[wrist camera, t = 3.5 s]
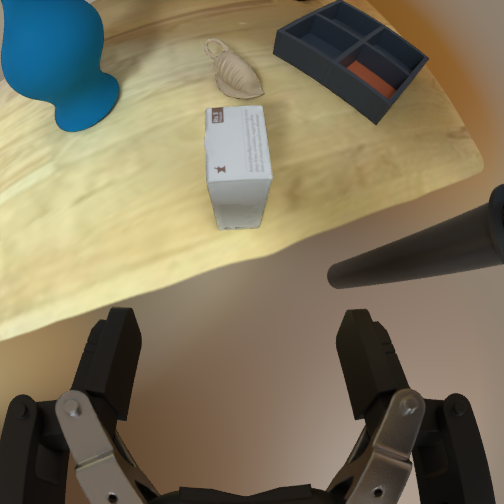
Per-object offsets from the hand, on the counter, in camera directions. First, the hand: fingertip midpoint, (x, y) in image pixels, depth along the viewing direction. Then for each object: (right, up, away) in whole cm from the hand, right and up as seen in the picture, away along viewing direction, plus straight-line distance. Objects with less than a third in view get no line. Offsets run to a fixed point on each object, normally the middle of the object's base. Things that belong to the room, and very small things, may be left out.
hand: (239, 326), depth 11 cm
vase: (-22, +23, +20) cm, 37 cm away
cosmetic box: (-1, +8, +19) cm, 21 cm away
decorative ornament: (-2, +24, +22) cm, 32 cm away
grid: (+15, +31, +24) cm, 42 cm away
